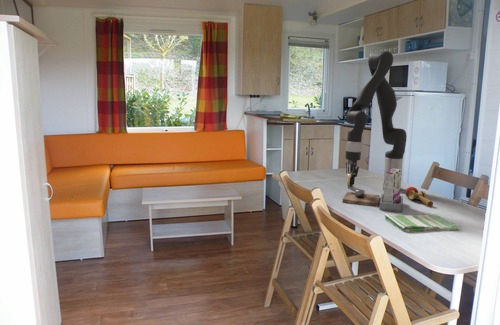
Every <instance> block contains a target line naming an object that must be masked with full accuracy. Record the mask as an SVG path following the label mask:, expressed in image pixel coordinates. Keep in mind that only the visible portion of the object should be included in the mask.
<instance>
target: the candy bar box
mask: <svg viewBox="0 0 500 325" xmlns="http://www.w3.org/2000/svg"><path fill="white" fill-rule="evenodd" d="M401 171H402V172H403V169H402V170H401V169H390V170H388V171H387V172H385V178H384V177H383V178H384V188H383V194H384V196H383V202H386V203H395V204H399V200H400V196H401V188H400V185H401V186H402V176H401Z"/></svg>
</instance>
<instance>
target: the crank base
mask: <svg viewBox="0 0 500 325" xmlns="http://www.w3.org/2000/svg"><path fill="white" fill-rule="evenodd" d="M380 198H381V195H380V194H373V193H372V194H371V193H364V197H362V198H360V197H355V192H354V191H347V192H346V193H345V195H344V196H343V197H342V203H345V204H353V205H354V204H355V205H361V206H362V205H363V206H370V207H372V206H373V207H378V205H379V203H380V201H379V200H380Z"/></svg>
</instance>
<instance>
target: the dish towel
mask: <svg viewBox="0 0 500 325" xmlns="http://www.w3.org/2000/svg"><path fill="white" fill-rule="evenodd" d="M384 217H385V218H384V219H385V220H386V221H387V222H389V223H390V224H392V225H393V226H395V227H396V228H398V230H400V231H401V232H402V233H410V232H413V233H414V232H415V233H417V232H437V231H440V232H443V231H448V232H449V231H457V230H459V228H460V227H461V226H460V225H458V224H456V223H455V224H454V223H453V222H451V221H449V220H448V219H445V218H444V217H442V216H440V215H438V214H435V213H432V214H423V215H421V214H419V215H416V214H415V215H404V214H403V215H401V214H399V215H398V214H387V213H386V214H384Z"/></svg>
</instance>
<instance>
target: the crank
mask: <svg viewBox="0 0 500 325" xmlns="http://www.w3.org/2000/svg"><path fill="white" fill-rule="evenodd" d="M346 186H347V189H348V190H350V191H351V192H354V193H355V197H360V198H362V197H364V194H365V190H364V189H360V188H358V187H356V186H354V185H350V174H348V175H347V180H346Z"/></svg>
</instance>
